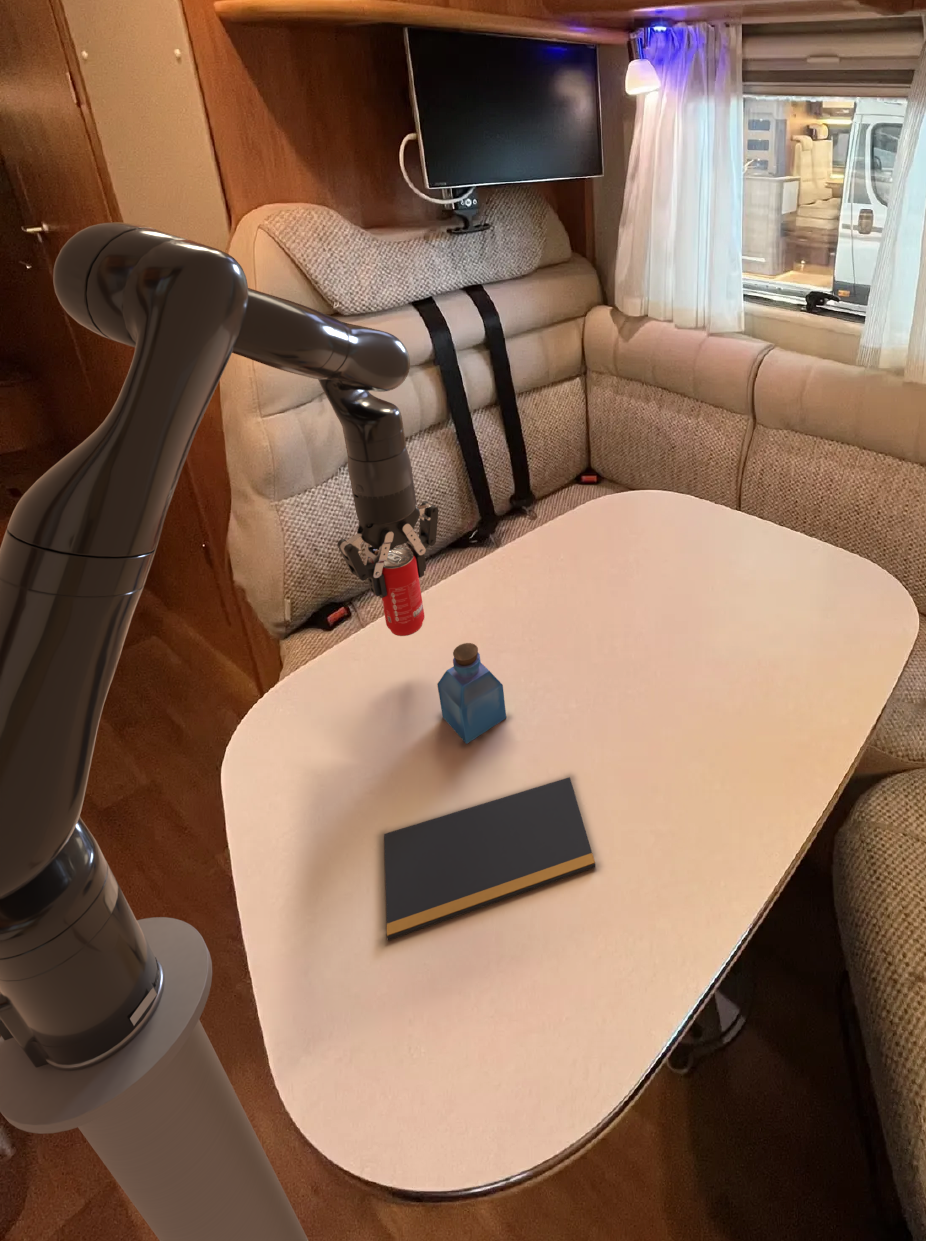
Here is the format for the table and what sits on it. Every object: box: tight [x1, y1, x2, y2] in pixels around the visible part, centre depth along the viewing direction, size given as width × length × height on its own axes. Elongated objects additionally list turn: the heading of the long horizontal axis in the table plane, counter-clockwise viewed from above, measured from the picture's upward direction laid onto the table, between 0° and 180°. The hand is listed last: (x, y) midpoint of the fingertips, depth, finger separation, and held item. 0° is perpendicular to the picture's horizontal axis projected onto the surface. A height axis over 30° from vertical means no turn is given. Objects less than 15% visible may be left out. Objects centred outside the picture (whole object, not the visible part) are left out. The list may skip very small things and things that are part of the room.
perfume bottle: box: [436, 642, 507, 745], centre depth 97 cm, size 6×6×12 cm
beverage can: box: [381, 547, 425, 637], centre depth 102 cm, size 5×5×12 cm
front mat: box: [383, 776, 596, 941], centre depth 83 cm, size 22×12×1 cm, turn 111°
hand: (399, 584), depth 102 cm, fingers closed on beverage can, 5 cm apart
